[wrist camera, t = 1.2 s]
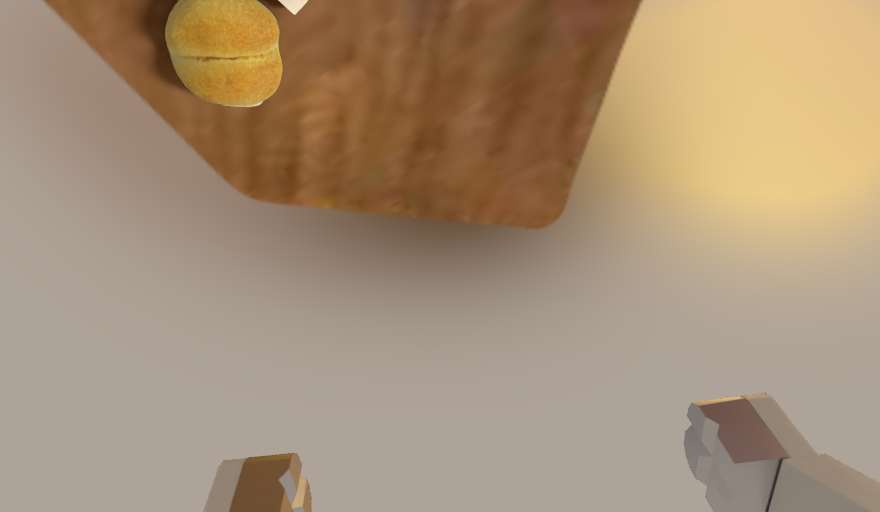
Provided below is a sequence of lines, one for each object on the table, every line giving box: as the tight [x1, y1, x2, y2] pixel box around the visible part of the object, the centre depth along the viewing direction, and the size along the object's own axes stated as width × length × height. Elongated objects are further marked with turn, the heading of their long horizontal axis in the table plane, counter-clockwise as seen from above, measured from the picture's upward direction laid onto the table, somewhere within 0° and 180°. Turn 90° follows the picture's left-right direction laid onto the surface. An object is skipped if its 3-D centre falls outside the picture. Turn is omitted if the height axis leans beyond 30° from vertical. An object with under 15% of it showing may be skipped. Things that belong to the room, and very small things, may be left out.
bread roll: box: [165, 0, 282, 107], centre depth 43 cm, size 8×9×4 cm
